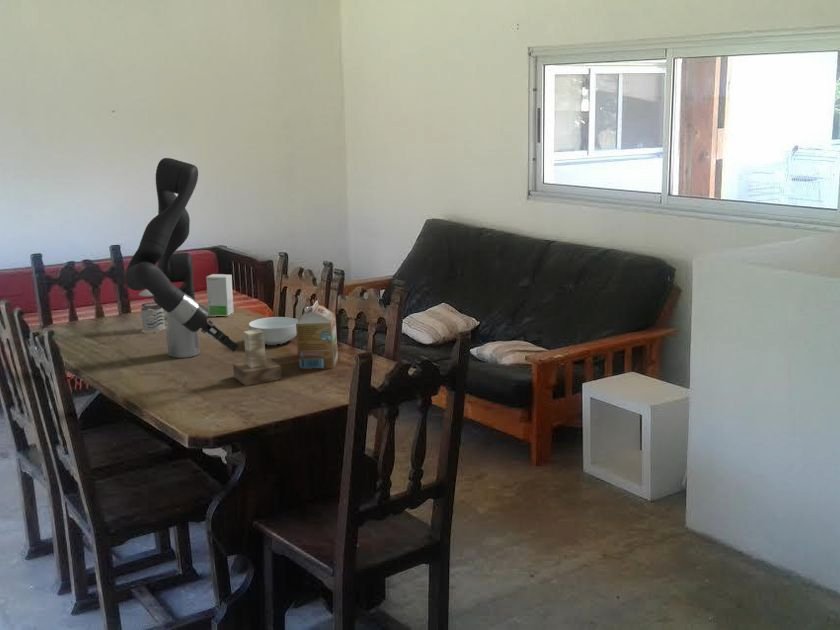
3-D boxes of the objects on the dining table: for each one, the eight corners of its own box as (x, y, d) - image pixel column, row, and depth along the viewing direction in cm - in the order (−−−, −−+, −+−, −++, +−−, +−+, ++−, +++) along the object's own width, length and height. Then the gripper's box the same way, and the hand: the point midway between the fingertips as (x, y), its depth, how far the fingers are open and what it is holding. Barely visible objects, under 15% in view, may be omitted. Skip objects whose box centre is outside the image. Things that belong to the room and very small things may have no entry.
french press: (135, 330, 342) (128, 262, 337) (164, 324, 350) (157, 258, 344) (147, 334, 335) (140, 265, 330) (177, 328, 343) (170, 261, 337)
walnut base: (245, 385, 268) (243, 372, 268) (234, 376, 278) (232, 363, 277) (281, 379, 273) (280, 366, 272) (269, 370, 283) (268, 357, 282)
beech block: (251, 368, 272) (248, 334, 270) (246, 364, 276) (243, 331, 274) (266, 365, 274) (263, 332, 272) (261, 362, 278) (258, 329, 276)
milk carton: (304, 359, 294) (300, 300, 290) (337, 358, 293) (334, 299, 289) (299, 369, 283) (294, 307, 279) (333, 368, 283) (330, 306, 279)
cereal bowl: (267, 351, 306) (265, 330, 304) (240, 343, 318) (239, 322, 316) (310, 341, 316) (308, 321, 315) (283, 333, 329) (281, 314, 327)
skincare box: (208, 316, 360) (204, 277, 357) (214, 313, 366) (211, 273, 363) (229, 316, 359) (225, 276, 355) (235, 313, 365) (231, 273, 362)
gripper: (203, 305, 257) (247, 340, 265) (190, 297, 269) (232, 330, 277) (186, 327, 256) (230, 361, 263) (173, 318, 268) (216, 351, 276)
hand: (231, 345), depth 270 cm, fingers open, 8 cm apart
